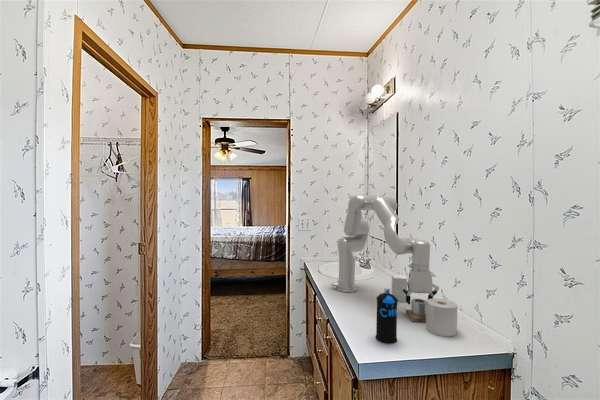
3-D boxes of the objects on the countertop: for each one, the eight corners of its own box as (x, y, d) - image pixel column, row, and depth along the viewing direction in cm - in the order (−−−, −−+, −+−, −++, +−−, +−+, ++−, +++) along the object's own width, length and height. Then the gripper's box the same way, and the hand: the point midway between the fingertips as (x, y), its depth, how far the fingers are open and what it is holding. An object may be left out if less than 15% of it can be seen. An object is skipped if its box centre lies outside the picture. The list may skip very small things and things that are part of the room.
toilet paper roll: (445, 323, 136) (446, 297, 135) (463, 336, 124) (464, 307, 124) (420, 324, 134) (420, 298, 134) (436, 337, 122) (436, 308, 122)
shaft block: (411, 322, 136) (412, 304, 136) (405, 313, 146) (405, 297, 146) (434, 323, 136) (435, 305, 136) (426, 314, 146) (427, 297, 146)
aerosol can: (372, 334, 124) (373, 285, 124) (392, 333, 125) (393, 285, 124) (379, 344, 116) (380, 291, 116) (400, 343, 117) (401, 291, 116)
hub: (414, 316, 138) (414, 303, 138) (410, 310, 145) (410, 298, 144) (428, 316, 138) (429, 303, 138) (423, 311, 144) (424, 298, 144)
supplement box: (406, 302, 162) (407, 278, 162) (392, 301, 163) (392, 277, 163) (405, 297, 169) (405, 275, 169) (391, 296, 171) (391, 274, 170)
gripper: (403, 268, 138) (402, 306, 138) (442, 270, 137) (441, 308, 137) (399, 264, 145) (397, 300, 146) (436, 266, 144) (435, 302, 145)
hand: (419, 304), depth 141 cm, fingers open, 9 cm apart
